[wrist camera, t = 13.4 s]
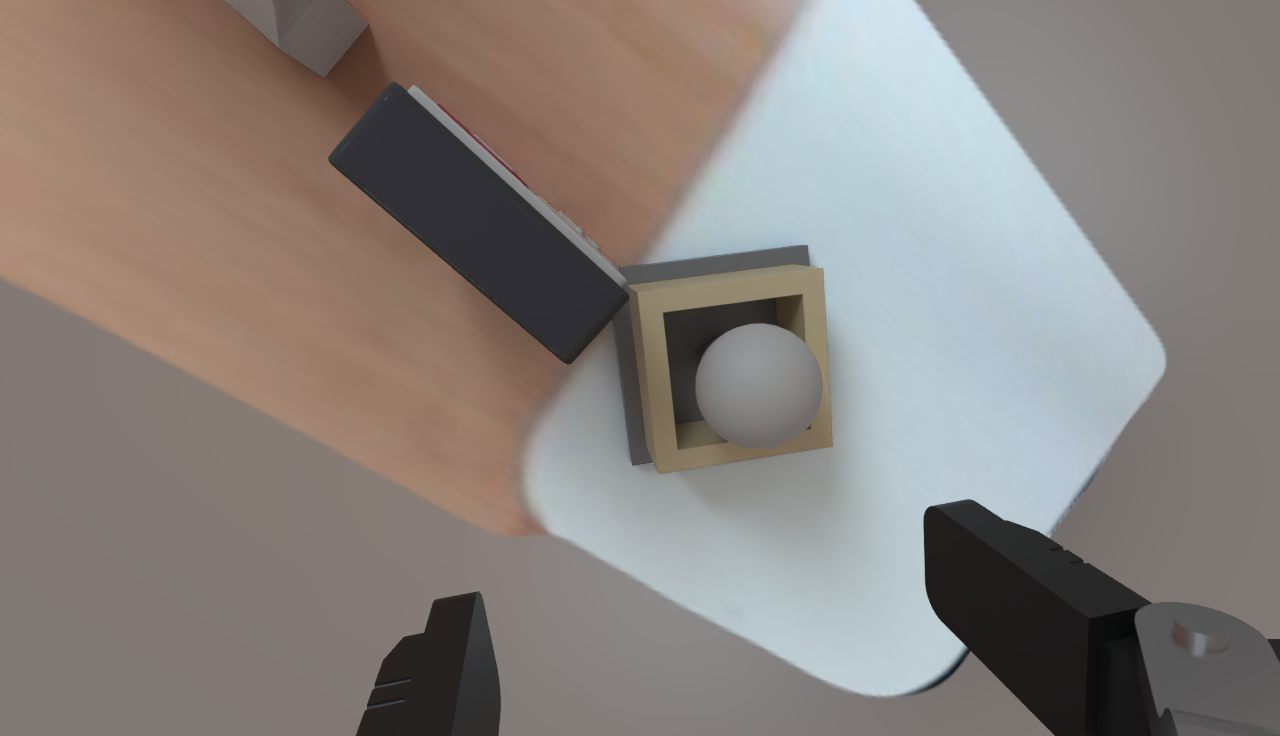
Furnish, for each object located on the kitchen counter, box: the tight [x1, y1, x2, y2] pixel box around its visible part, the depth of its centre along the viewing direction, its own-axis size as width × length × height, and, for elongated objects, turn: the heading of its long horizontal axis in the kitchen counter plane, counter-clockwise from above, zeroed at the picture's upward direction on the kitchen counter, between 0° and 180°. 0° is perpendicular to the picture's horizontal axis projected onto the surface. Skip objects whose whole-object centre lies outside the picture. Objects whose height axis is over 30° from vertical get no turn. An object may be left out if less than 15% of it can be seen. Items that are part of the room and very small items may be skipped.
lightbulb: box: [696, 323, 823, 449], centre depth 34 cm, size 6×6×11 cm
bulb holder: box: [613, 245, 833, 474], centre depth 38 cm, size 12×12×6 cm
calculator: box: [329, 82, 630, 364], centre depth 30 cm, size 11×4×15 cm, turn 47°
